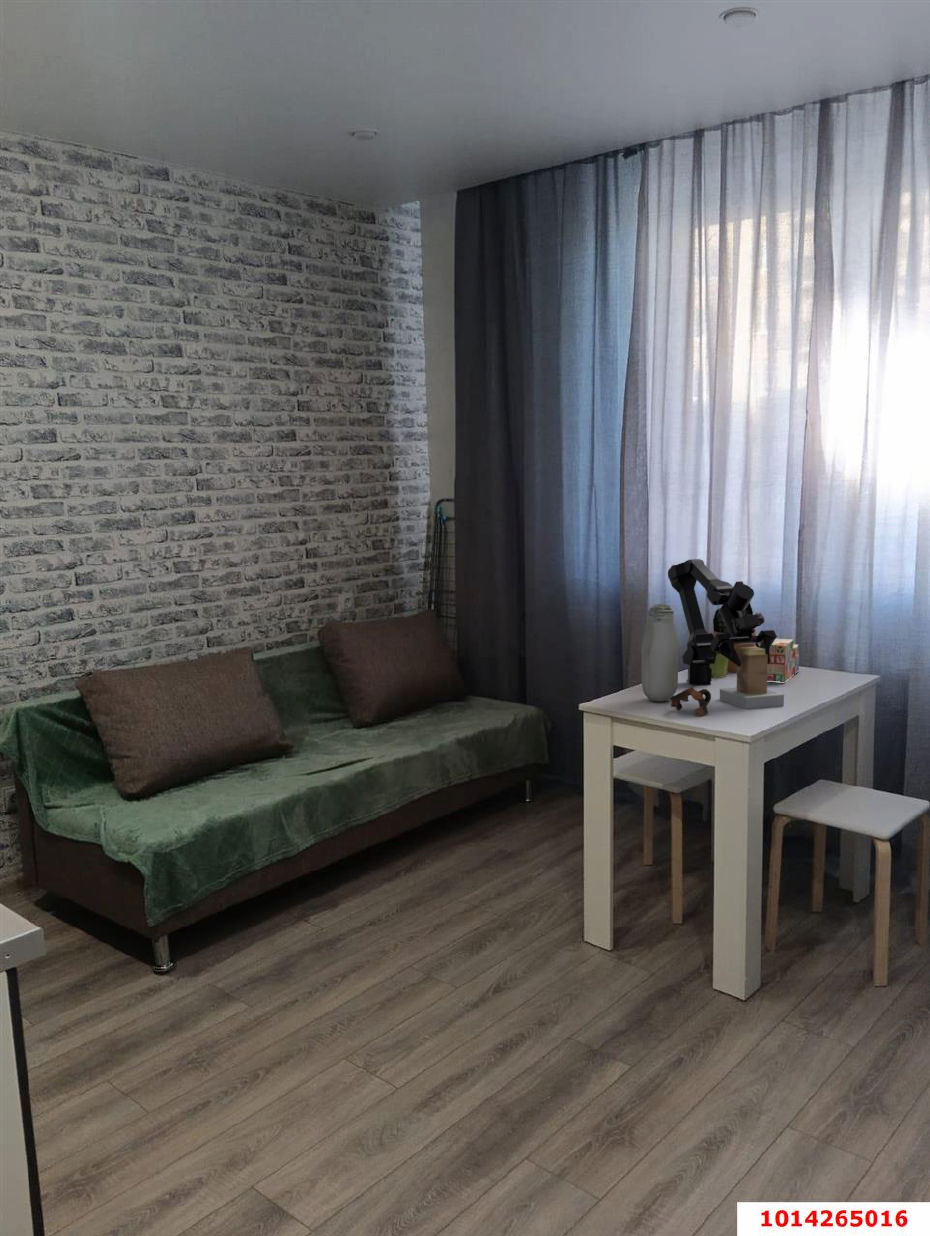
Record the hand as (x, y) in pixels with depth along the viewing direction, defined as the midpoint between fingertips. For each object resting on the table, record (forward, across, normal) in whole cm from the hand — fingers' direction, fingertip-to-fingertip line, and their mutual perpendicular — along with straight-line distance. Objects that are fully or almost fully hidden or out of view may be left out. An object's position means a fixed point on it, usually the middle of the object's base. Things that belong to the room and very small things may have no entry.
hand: (754, 664), depth 295 cm
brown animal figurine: (+11, -22, +5) cm, 25 cm away
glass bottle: (-1, -23, +17) cm, 28 cm away
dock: (+7, 0, +9) cm, 11 cm away
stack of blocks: (-14, +29, +30) cm, 44 cm away
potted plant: (-25, +22, +41) cm, 53 cm away
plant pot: (-20, +11, +36) cm, 43 cm away
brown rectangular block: (+5, 0, +7) cm, 8 cm away
